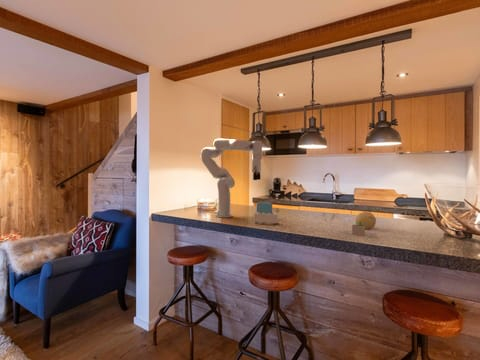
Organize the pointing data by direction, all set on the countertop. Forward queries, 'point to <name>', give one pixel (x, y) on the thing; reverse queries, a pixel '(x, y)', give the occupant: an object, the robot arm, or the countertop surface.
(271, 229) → the countertop surface
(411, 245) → the countertop surface
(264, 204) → the data package
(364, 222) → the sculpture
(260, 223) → the post plate
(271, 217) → the power strip
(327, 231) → the countertop surface
